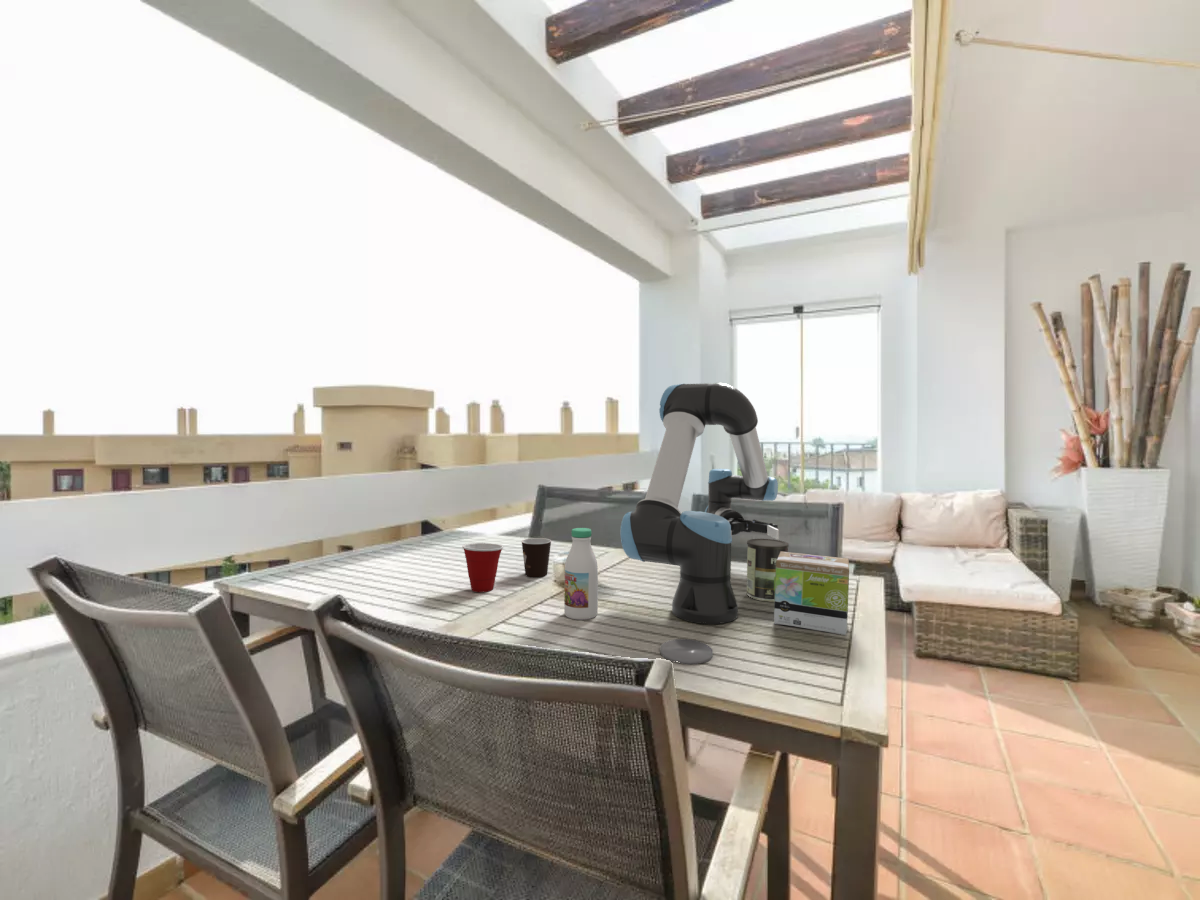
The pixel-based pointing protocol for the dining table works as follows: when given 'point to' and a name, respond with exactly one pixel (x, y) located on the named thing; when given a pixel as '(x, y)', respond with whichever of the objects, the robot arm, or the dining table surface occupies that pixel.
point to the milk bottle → (581, 577)
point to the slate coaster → (686, 651)
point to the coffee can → (763, 567)
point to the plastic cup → (482, 565)
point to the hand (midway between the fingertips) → (754, 535)
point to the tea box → (812, 592)
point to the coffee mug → (536, 556)
